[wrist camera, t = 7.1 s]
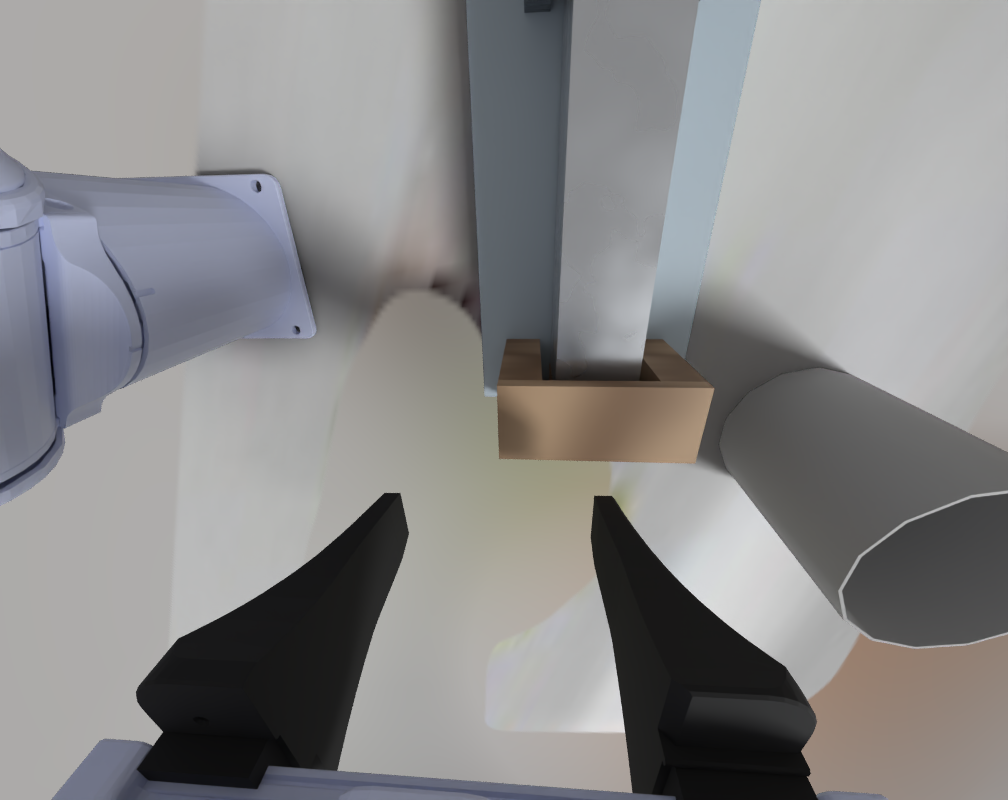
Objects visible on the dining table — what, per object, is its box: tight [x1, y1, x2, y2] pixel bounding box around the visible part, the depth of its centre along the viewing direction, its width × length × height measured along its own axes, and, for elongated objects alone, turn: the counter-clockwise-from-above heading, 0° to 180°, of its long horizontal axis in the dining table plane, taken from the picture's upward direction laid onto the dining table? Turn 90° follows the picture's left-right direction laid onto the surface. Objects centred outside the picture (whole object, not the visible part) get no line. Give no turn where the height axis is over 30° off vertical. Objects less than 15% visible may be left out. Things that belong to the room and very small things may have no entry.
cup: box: [719, 367, 1008, 649], centre depth 18 cm, size 8×8×10 cm
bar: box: [549, 0, 699, 381], centre depth 15 cm, size 4×17×5 cm, turn 1°
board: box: [466, 0, 761, 396], centre depth 16 cm, size 11×25×1 cm, turn 1°
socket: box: [497, 339, 715, 463], centre depth 18 cm, size 8×4×6 cm, turn 91°
